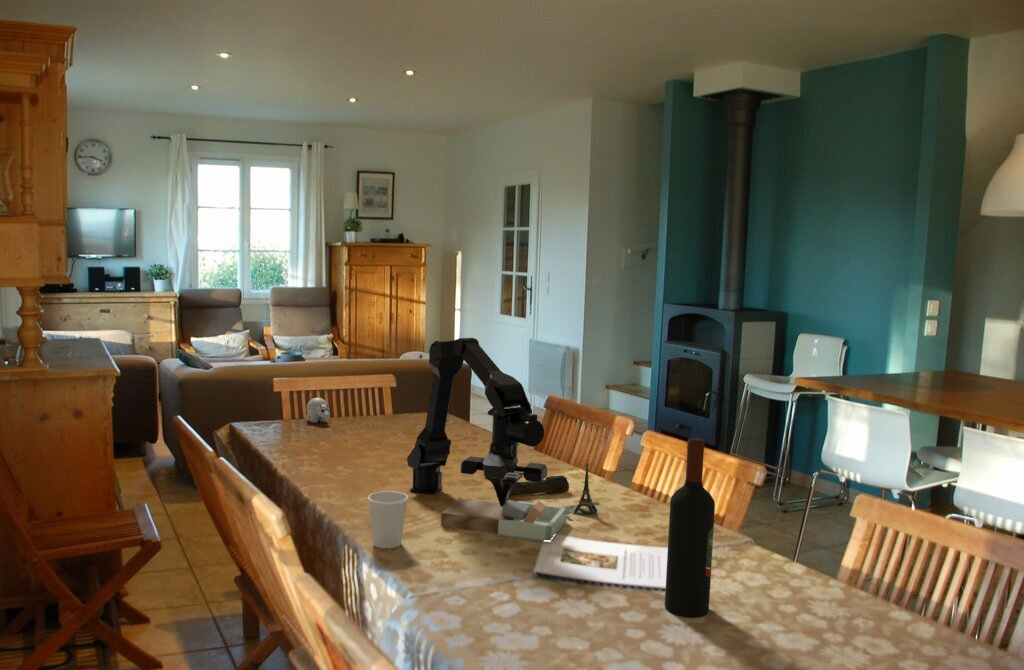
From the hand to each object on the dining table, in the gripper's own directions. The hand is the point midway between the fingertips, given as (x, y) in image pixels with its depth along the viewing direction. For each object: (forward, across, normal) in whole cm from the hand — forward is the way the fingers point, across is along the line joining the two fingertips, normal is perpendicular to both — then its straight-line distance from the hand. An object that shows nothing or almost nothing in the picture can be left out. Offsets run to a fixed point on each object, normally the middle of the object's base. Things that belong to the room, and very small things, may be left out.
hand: (502, 506), depth 191 cm
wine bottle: (+5, +44, -31) cm, 54 cm away
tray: (+4, +7, 0) cm, 8 cm away
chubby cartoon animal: (+4, -92, +80) cm, 122 cm away
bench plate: (+4, -5, 0) cm, 7 cm away
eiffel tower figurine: (+5, +15, +18) cm, 24 cm away
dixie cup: (+4, -18, -21) cm, 28 cm away
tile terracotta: (+1, +6, 0) cm, 6 cm away
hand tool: (+5, 0, +27) cm, 27 cm away
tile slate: (+2, +3, 0) cm, 3 cm away
